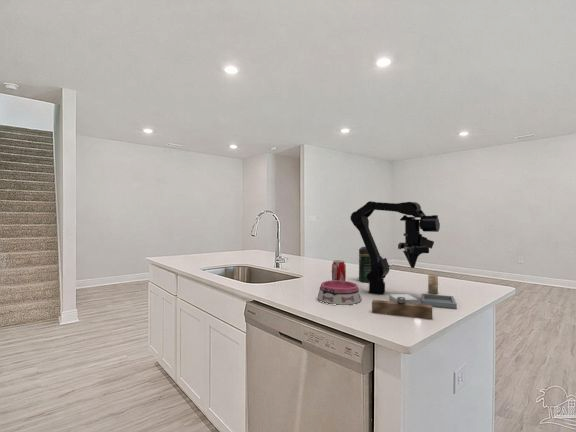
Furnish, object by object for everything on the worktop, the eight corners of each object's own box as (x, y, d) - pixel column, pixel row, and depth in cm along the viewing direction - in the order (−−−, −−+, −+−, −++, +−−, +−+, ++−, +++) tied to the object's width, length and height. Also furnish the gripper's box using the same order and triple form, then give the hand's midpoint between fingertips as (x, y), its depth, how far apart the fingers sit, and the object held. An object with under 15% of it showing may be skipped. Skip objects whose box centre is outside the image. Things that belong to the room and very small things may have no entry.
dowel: (428, 293, 138) (428, 276, 138) (428, 291, 142) (428, 274, 142) (438, 294, 137) (438, 276, 137) (437, 292, 141) (437, 275, 141)
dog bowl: (369, 299, 131) (369, 283, 131) (346, 309, 117) (346, 291, 117) (333, 292, 143) (333, 277, 143) (308, 300, 129) (308, 284, 129)
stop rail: (372, 312, 112) (371, 296, 112) (373, 310, 115) (373, 294, 115) (432, 319, 104) (432, 301, 104) (432, 316, 107) (431, 299, 107)
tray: (421, 305, 120) (421, 300, 120) (421, 298, 131) (421, 293, 131) (456, 309, 116) (456, 303, 116) (453, 301, 127) (453, 296, 127)
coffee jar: (375, 283, 161) (375, 247, 161) (360, 282, 162) (360, 247, 162) (372, 279, 171) (372, 245, 171) (358, 278, 172) (357, 245, 172)
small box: (408, 306, 120) (408, 293, 120) (418, 313, 112) (417, 299, 112) (388, 307, 119) (388, 294, 119) (397, 313, 111) (397, 299, 111)
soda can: (345, 286, 154) (345, 262, 154) (331, 285, 156) (331, 262, 156) (345, 283, 161) (345, 260, 161) (332, 282, 162) (332, 260, 162)
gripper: (442, 232, 121) (442, 271, 121) (421, 230, 140) (422, 264, 140) (414, 232, 121) (414, 271, 121) (397, 230, 140) (397, 264, 140)
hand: (412, 267), depth 131 cm, fingers closed
